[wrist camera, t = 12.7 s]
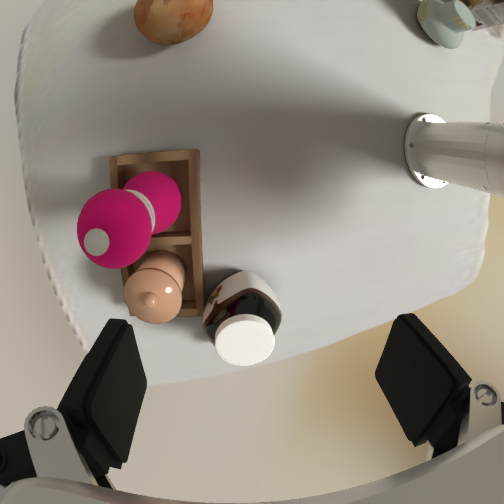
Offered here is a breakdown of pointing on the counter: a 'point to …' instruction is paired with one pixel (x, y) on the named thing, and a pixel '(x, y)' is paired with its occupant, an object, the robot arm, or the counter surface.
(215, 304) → the spread jar
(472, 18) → the air freshener
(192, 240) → the caddy
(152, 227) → the pepper mill
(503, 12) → the coffee box
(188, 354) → the counter surface
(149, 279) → the salt crock
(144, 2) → the onion
